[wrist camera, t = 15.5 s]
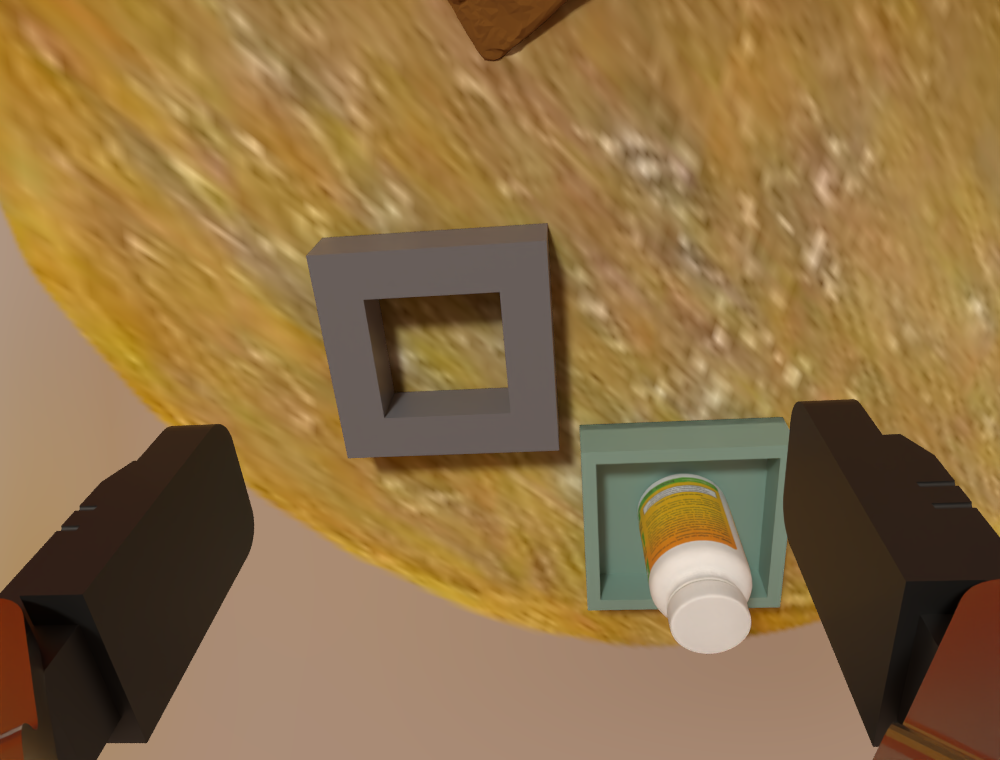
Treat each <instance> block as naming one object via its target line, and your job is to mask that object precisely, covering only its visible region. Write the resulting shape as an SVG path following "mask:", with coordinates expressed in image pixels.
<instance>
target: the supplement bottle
mask: <svg viewBox="0 0 1000 760" xmlns="http://www.w3.org/2000/svg"><path fill="white" fill-rule="evenodd" d="M637 517H638V525H639V530H640V536H641V541H642V547H643V553H644V559H645V565H646V571H647V577H648V584H649V589H650V594H651V597H652V600H653V602H654V604H655V605H656V607H657V608H658V609H659V611H660V612H661V613H662V614H663V615H665V616H666V617H667V618H668V621H669V626H670V630H671V633H672V635H673V637H674V639H675V640H676V641H677V642H678V643H679V644H680V645H681V646H682V647H684V648H686V649H688V650H690V651H693V652H697V653H702V654H715V653H721V652H724V651H727V650H730V649H732V648H734V647H736V646H737V645H738V644H740V643H741V642H742V641H743V640H744V639H745V638H746V636H747V635H748V633H749V631H750V628H751V616H750V612H749V609H748V605H747V602H748V600H749V598H750V595H751V591H752V576H751V572H750V568H749V565H748V562H747V559H746V556H745V553H744V550H743V547H742V544H741V541H740V538H739V535H738V532H737V529H736V526H735V523H734V520H733V517H732V514H731V512H730V509H729V506H728V503H727V501H726V498H725V496H724V494H723V492H722V491H721V490H720V488H719V487H718V486H717V485H716V484H714V483H713V482H712V481H710V480H708V479H706V478H704V477H701V476H698V475H694V474H674V475H670V476H667V477H664V478H662V479H660V480H658V481H656V482H655V483H653V484H652V485H651V486H650V487H649V488H648V489H647V490H646V491H645V492H644V494H643V495H642V497H641V498H640V501H639V504H638V509H637Z"/></svg>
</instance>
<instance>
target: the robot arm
mask: <svg viewBox="0 0 1000 760" xmlns="http://www.w3.org/2000/svg"><path fill="white" fill-rule="evenodd" d="M971 503H972V502H971V501H970V499H969V498H968V497H967V496H966V494H965V493H964V492H963V491H962V489H961V488H960V487H959V486H955V480H954V479H953V478H952V477H951V475H950V474H949V473H948V472H947V470H946V469H945V468H944V467H943V465H942V464H941V463H940V462H939V460H938V459H937V458H936V457H935V455H933V454H932V453H930V452H928V451H927V450H925V449H924V448H922V447H920V446H919V445H917V444H916V443H914V442H912V441H911V440H909V439H908V438H906V437H904V436H903V435H901V434H892V435H882V433H881V432H880V431H879V429H878V428H877V426H876V425H875V424H874V422H873V421H872V419H871V418H870V417H869V415H868V414H867V412H866V411H865V410H864V408H863V407H862V405H861V404H860V403H859V402H858V401H857V400H854V399H850V400H825V401H801V402H797V403H796V404H795V405H794V407H793V410H792V415H791V422H790V432H789V442H788V452H787V462H786V472H785V483H784V493H783V515H784V524H785V529H786V534H787V538H788V541H789V544H790V546H791V549H792V551H793V553H794V556H795V558H796V561H797V563H798V566H799V568H800V570H801V573H802V575H803V578H804V580H805V583H806V585H807V587H808V590H809V592H810V595H811V597H812V600H813V602H814V604H815V607H816V609H817V612H818V614H819V617H820V619H821V621H822V624H823V626H824V629H825V631H826V634H827V636H828V638H829V641H830V643H831V646H832V648H833V650H834V653H835V655H836V658H837V660H838V663H839V665H840V667H841V670H842V672H843V675H844V677H845V680H846V682H847V684H848V687H849V689H850V692H851V694H852V697H853V699H854V701H855V704H856V706H857V709H858V711H859V714H860V716H861V718H862V721H863V723H864V726H865V728H866V730H867V733H868V736H869V738H870V740H871V743H872V745H873V747H878V749H877V752H876V754H875V756H874V758H873V760H1000V537H999V536H998V535H997V533H996V532H995V531H994V530H993V528H992V527H991V526H990V525H989V523H988V522H987V521H986V520H985V518H984V517H983V516H982V515H981V513H980V512H979V511H978V509H977V508H972V504H971ZM61 527H62V530H61V531H56V532H55V533H54V535H53V536H52V537H51V538H50V539H49V540H48V541H47V542H46V543H45V544H44V546H43V547H42V548H41V549H40V550H39V551H38V552H37V553H36V554H35V555H34V557H33V558H32V559H31V560H30V561H29V562H28V563H27V564H26V565H25V566H24V568H23V569H22V570H21V571H20V572H19V573H18V574H17V575H16V576H15V577H14V579H13V580H12V581H11V582H10V583H9V584H8V585H7V586H6V587H5V588H4V590H3V591H2V592H1V593H0V760H97V758H98V756H99V755H100V753H101V751H102V750H103V748H104V746H105V745H106V743H147V742H148V740H149V738H150V736H151V734H152V733H153V731H154V729H155V727H156V725H157V723H158V721H159V720H160V718H161V716H162V714H163V712H164V710H165V708H166V706H167V705H168V703H169V701H170V699H171V697H172V695H173V693H174V692H175V690H176V688H177V686H178V684H179V682H180V681H181V679H182V677H183V675H184V673H185V671H186V669H187V668H188V666H189V664H190V662H191V660H192V658H193V656H194V655H195V653H196V651H197V649H198V647H199V645H200V643H201V642H202V640H203V638H204V636H205V634H206V632H207V630H208V629H209V627H210V625H211V623H212V621H213V619H214V617H215V616H216V614H217V612H218V610H219V608H220V606H221V604H222V603H223V601H224V599H225V597H226V595H227V593H228V591H229V589H230V588H231V586H232V584H233V582H234V580H235V578H236V577H237V575H238V573H239V571H240V569H241V567H242V565H243V563H244V562H245V560H246V558H247V556H248V554H249V552H250V549H251V546H252V541H253V535H254V517H253V511H252V507H251V504H250V500H249V497H248V493H247V490H246V486H245V482H244V479H243V475H242V472H241V468H240V465H239V461H238V458H237V454H236V451H235V447H234V444H233V440H232V437H231V435H230V433H229V431H228V430H227V428H226V427H225V426H223V425H221V424H210V425H186V426H170V427H168V428H166V429H165V430H164V431H163V432H162V433H161V434H160V435H159V436H158V437H157V438H156V440H155V441H154V442H153V443H152V444H151V445H150V446H149V448H148V449H147V450H146V451H145V452H144V453H143V454H142V456H141V457H140V458H139V459H138V460H137V461H133V462H131V463H130V464H128V465H127V466H125V467H124V468H122V469H120V470H119V471H117V472H116V473H114V474H113V475H111V476H110V477H108V478H107V479H105V480H104V481H102V482H101V483H100V484H99V485H98V486H97V487H96V488H95V489H94V491H93V492H92V493H91V494H90V495H89V496H88V497H87V498H86V499H85V500H84V502H83V503H82V504H81V505H80V510H79V511H74V513H73V514H72V515H71V516H70V517H69V518H68V519H67V520H66V521H65V523H64V524H63V525H62V526H61Z"/></svg>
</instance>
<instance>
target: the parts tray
mask: <svg viewBox="0 0 1000 760" xmlns="http://www.w3.org/2000/svg"><path fill="white" fill-rule="evenodd" d="M789 432H790V430H789V428H788V427H787V425H786V423H785V421H784V419H783V417H774V418H748V419H723V420H697V421H672V422H646V423H621V424H596V425H580V446H581V468H582V491H583V514H584V536H585V559H586V581H587V602H588V610H641V609H658V608H657V607H656V605H655V604H654V602H653V600H652V597H651V594H650V589H649V584H648V577H647V571H646V565H645V559H644V553H643V547H642V541H641V536H640V530H639V525H638V517H637V509H638V504H639V501H640V498H641V497H642V495H643V494H644V492H645V491H646V490H647V489H648V488H649V487H650V486H651V485H652V484H653V483H655V482H656V481H658V480H660V479H662V478H664V477H667V476H670V475H674V474H694V475H698V476H701V477H704V478H706V479H708V480H710V481H712V482H713V483H714V484H716V485H717V486H718V487H719V488H720V490H721V491H722V492H723V494H724V496H725V498H726V501H727V503H728V506H729V509H730V512H731V514H732V517H733V520H734V523H735V526H736V529H737V532H738V535H739V538H740V541H741V544H742V547H743V550H744V553H745V556H746V559H747V562H748V565H749V568H750V572H751V576H752V591H751V595H750V598H749V600H748V602H747V605H748V608H766V607H780V602H781V592H782V583H783V573H784V564H785V554H786V545H787V534H786V529H785V524H784V515H783V493H784V483H785V472H786V462H787V452H788V442H789Z"/></svg>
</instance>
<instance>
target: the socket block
mask: <svg viewBox="0 0 1000 760" xmlns="http://www.w3.org/2000/svg"><path fill="white" fill-rule="evenodd" d="M306 257H307V262H308V267H309V272H310V277H311V282H312V286H313V291H314V296H315V301H316V306H317V311H318V316H319V320H320V325H321V330H322V335H323V340H324V345H325V349H326V354H327V359H328V364H329V369H330V374H331V378H332V383H333V388H334V393H335V398H336V403H337V407H338V412H339V417H340V422H341V427H342V432H343V437H344V441H345V446H346V451H347V456H348V458H366V457H393V456H421V455H449V454H476V453H504V452H532V451H559V414H558V397H557V380H556V363H555V346H554V328H553V311H552V294H551V277H550V260H549V242H548V225H547V223H545V224H530V225H514V226H499V227H483V228H468V229H453V230H437V231H422V232H406V233H391V234H376V235H360V236H345V237H329V238H322V239H321V240H320V241H319V242H318V243H317V244H316V245H315V247H314V248H313V249H312V250H311V251H310V252H309V253H308V254H307V255H306ZM492 292H500V301H501V312H502V323H503V334H504V345H505V356H506V367H507V378H508V388H488V389H466V390H443V391H420V392H398V393H394V387H393V381H392V375H391V369H390V363H389V357H388V351H387V345H386V339H385V333H384V327H383V321H382V315H381V309H380V303H379V299H386V298H404V297H421V296H439V295H457V294H475V293H492Z"/></svg>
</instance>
